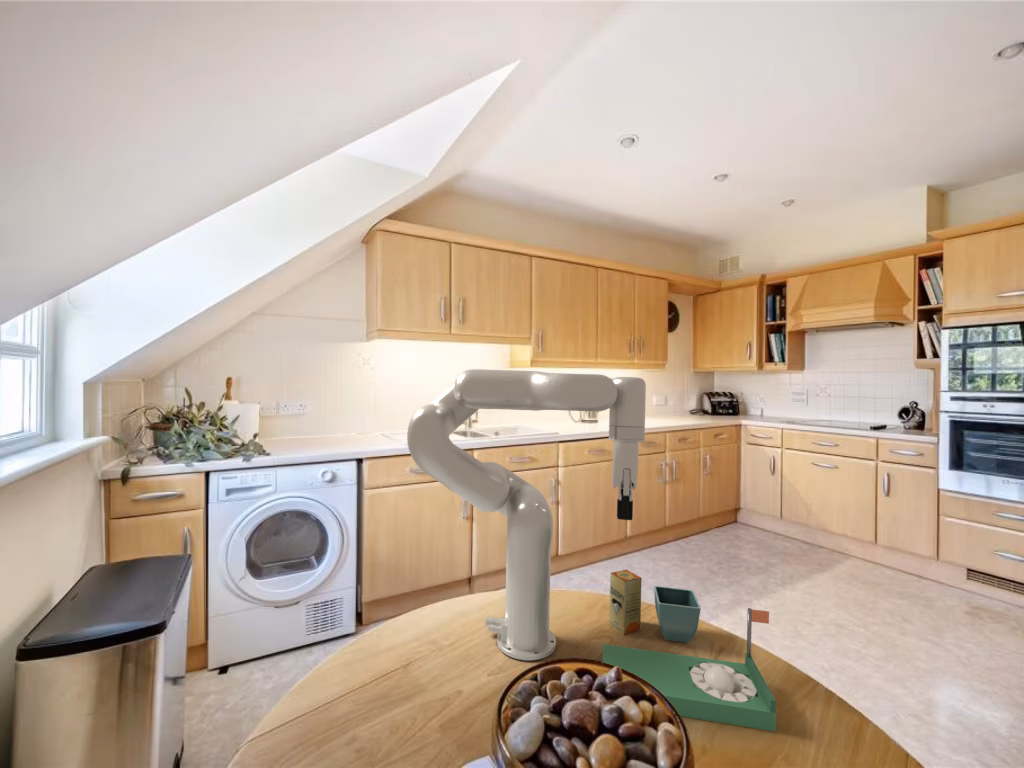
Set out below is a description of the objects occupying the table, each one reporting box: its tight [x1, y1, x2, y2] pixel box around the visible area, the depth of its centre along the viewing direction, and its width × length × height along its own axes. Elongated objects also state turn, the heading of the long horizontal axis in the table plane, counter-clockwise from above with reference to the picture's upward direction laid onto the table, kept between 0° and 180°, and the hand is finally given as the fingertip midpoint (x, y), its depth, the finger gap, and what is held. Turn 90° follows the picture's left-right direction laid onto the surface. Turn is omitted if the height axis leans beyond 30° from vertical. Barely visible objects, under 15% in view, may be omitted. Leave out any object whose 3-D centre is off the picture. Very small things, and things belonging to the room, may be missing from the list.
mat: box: [602, 643, 777, 733], centre depth 81 cm, size 28×13×5 cm, turn 78°
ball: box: [703, 666, 734, 694], centre depth 79 cm, size 5×5×5 cm
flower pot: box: [653, 585, 701, 644], centre depth 99 cm, size 9×9×9 cm
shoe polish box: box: [608, 569, 642, 636], centre depth 102 cm, size 5×5×12 cm
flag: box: [746, 607, 770, 667], centre depth 83 cm, size 4×1×14 cm, turn 78°
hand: (624, 518), depth 95 cm, fingers closed
